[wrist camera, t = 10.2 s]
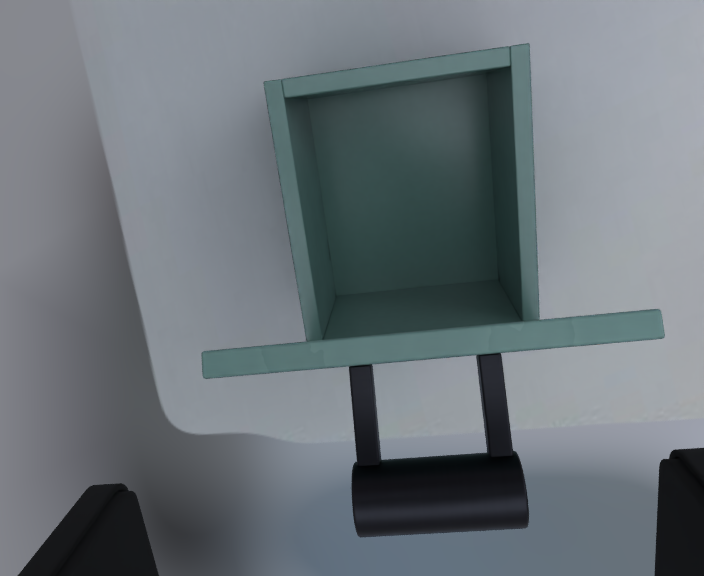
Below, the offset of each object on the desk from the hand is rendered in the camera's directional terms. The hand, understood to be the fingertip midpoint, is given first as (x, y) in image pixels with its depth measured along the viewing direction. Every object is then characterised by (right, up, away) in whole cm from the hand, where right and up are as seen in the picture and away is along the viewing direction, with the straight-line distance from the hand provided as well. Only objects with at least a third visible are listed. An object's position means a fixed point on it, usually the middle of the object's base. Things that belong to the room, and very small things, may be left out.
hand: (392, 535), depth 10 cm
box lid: (+2, +2, +14) cm, 14 cm away
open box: (+3, +11, +28) cm, 30 cm away
